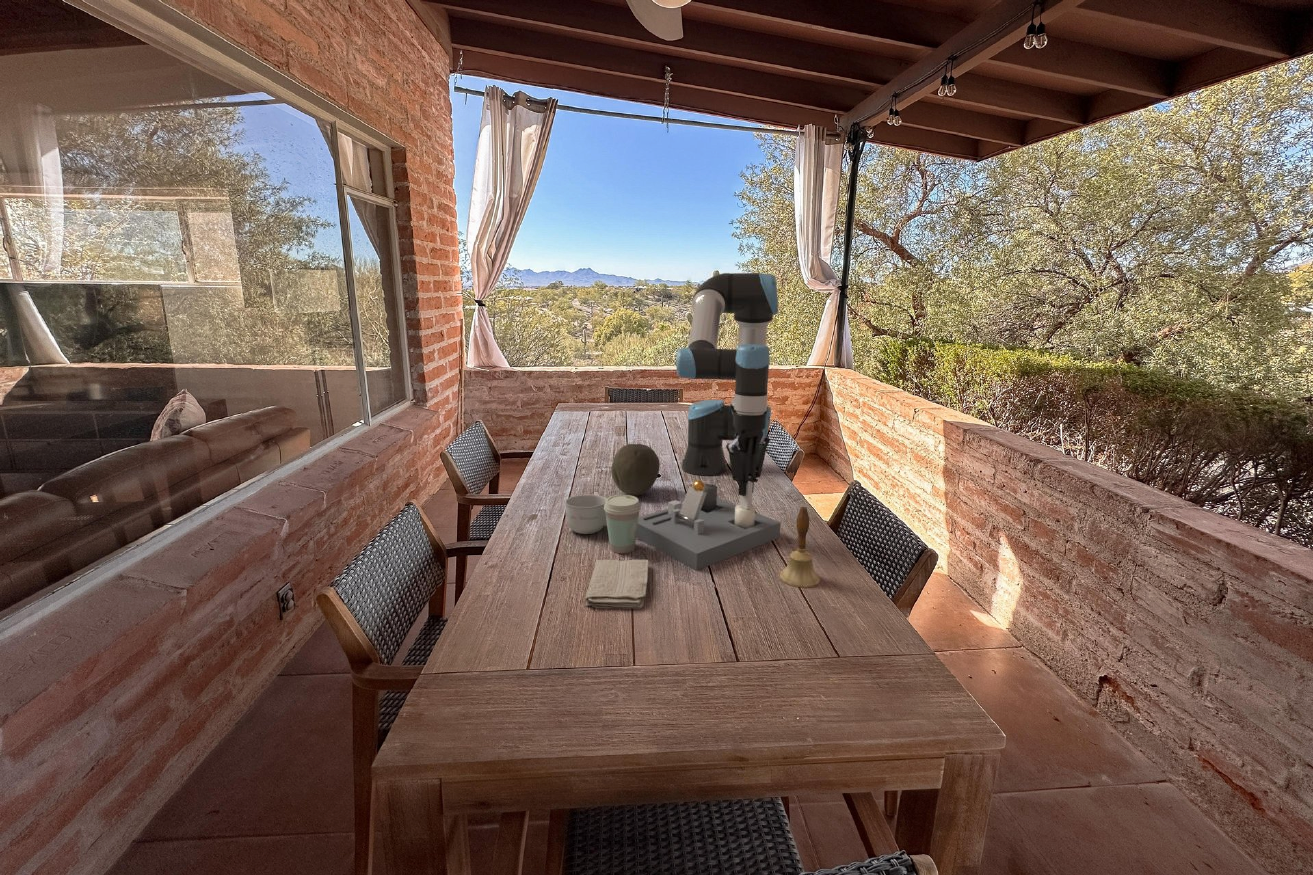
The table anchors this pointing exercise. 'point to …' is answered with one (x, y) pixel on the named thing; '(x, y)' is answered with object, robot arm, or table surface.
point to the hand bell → (800, 558)
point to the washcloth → (618, 584)
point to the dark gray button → (710, 497)
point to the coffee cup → (622, 522)
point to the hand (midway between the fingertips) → (745, 507)
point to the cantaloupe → (635, 469)
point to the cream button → (744, 517)
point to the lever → (692, 503)
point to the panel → (704, 534)
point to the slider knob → (674, 506)
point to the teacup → (585, 513)
